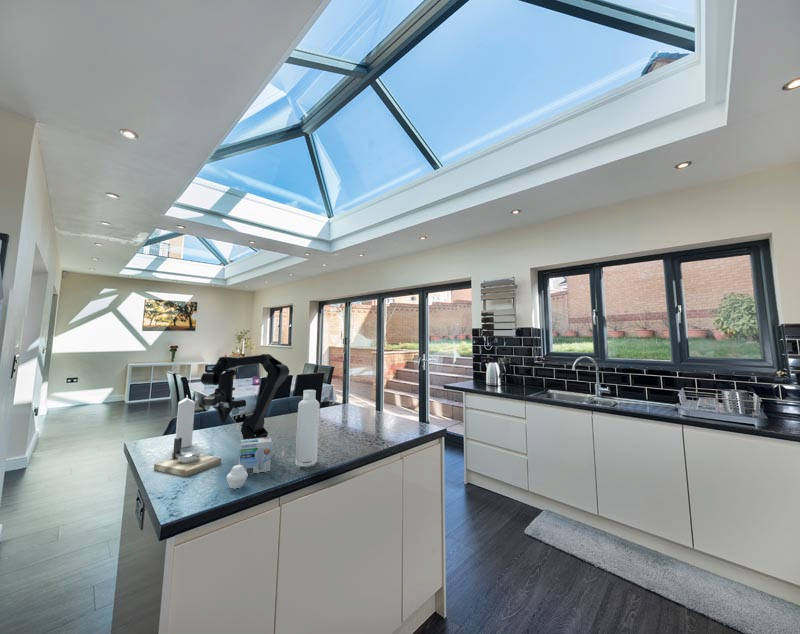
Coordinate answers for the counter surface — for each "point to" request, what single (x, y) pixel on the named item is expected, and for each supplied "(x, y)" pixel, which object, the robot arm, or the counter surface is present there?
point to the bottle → (307, 429)
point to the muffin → (237, 476)
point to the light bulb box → (255, 454)
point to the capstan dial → (184, 457)
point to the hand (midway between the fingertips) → (222, 422)
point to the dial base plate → (187, 465)
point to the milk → (185, 421)
